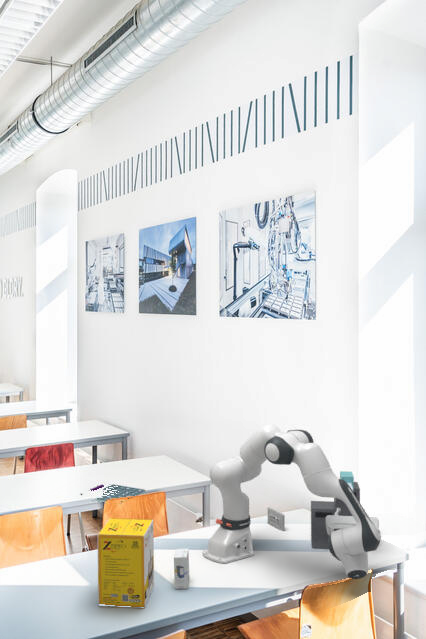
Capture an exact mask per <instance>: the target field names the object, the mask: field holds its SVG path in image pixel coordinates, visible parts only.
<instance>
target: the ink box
mask: <svg viewBox="0 0 426 639" xmlns="http://www.w3.org/2000/svg"><path fill="white" fill-rule="evenodd" d="M189 554H190V553H189V548H176V549H175V553H174V556H173V568H174V570H173V571H174V573H173V574H174V577H173V578H174V589H175V590H177V589H178V590H179V589H185V590H186V589H189V585H190V558H189V557H190V555H189Z"/></svg>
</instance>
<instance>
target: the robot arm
mask: <svg viewBox="0 0 426 639" xmlns="http://www.w3.org/2000/svg"><path fill="white" fill-rule="evenodd" d="M267 460H268V462H270V463H271V464H274V465H281V466H282V465H283V466H284V465H287V466H290V465H291V464H292V463H294V464H295V465H297V467H298V469H299V470H300V474H301V477H302V479H303V481H304V484H305V486H306V488H307V490H308V491H309V493H311V494H312V495H315V496H317V497H321V498H331V499H334V498H337V499H340V500H342V501H343V502H344V503H345V504H346V505H347V507H348V509H349V510H350V512H351V514H352V515H353V516H338V514H341V508H337V511H336V512H335V514H334V515H327V516H326V519H325V523H326V530H327V533H328V535H329V539H328V546H329V549H328V550H329V553H330V554H331V556H333V558H335V559H336V560H337V561H339V562H340V563H341V564H342V566H343V569H344V572H345V576H346V577H347V578H348V579H352V580H361V579H363V578H365V577H366V576H368V573H369V557H368V556H369V555H368V553H369V552H374V551H376V550H377V549H378V548H379V545H380V544H381V540H382V539H381V538H382V533H381V532H382V531H381V530H380V529H379V528H380V521H379V518H377V516H376V517H374V516H370V515H369V514H368V512H366V509H365V508H364V507H363V506H362V504H361V502H359V501H358V499H357V497H356V496H355V494H354V492H353V491H352V489H351V488H350V486H349V485H348V484H347V482H346V481H345V480H342V479H340V477H338V476H337V475H336V474H335V472H334V471H333V469H332V467H331V465H330V462H329V460H328V458H327V456H326V455H325V453H324V451H323V449H322V448H321V446H320V445H319V444H317V443H316V442H314V439H313V436H312V434H311V433H310V432H308V431H307V430H304V429H289V430H287V431H286V432H284V431H283V432H282V431H281V429H279V427H277V426H276V425H274V424H271V423H269V424H265V425H263V426H262V427H259V429H258V430H256V431H255V432H254V433H252V435H251V436H249V438H248V439H246V441H245V442H244V443H243V444H242V445H240V448H239V454H238V455H236V456H233V457H230V458H226V459H222V460H220V461H218V462H216V463H214V464H213V465H212V466H211V467H210V469H209V479H210V481H211V483H212V485H214V486H215V487H216V488H217V490H219V492H220V495H221V498H222V516H221V519H220V518H216V520H215V523H216V524H218V525H219V527H218V528H217V529H216V531H215V532H214V533H213V534H212V535H211V537H210V538H209V540H208V546H207V548H206V549H204V550H203V551H202V556H203V557H204V558H206V559H208V560H210V561H213V562H216V563H220V564H228V563H232V562H235V561H239V560H242V559H246V558H249V557H252V556H254V555H255V551H254V546H253V540H252V534H251V533H252V532H251V528H250V527H251V523H252V522H251V521H252V520H251V515H250V498H249V496H248V495H247V494H246V493H245V492H243V491H242V488H241V486H242V485H241V484H242V483H246V482H247V483H248V482H249V481H250V482H251V481H252V480H254V479H255V478H257V477H258V476H260V475H261V473H262V465H263V464H264V463H265V462H266V461H267Z"/></svg>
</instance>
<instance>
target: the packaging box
mask: <svg viewBox="0 0 426 639" xmlns="http://www.w3.org/2000/svg"><path fill="white" fill-rule="evenodd" d="M96 537H97V592H98V593H97V594H98V595H97V596H98V597H97V598H98V599H97V600H98V602H97V604H105V605H115V606H131V607H145V608H146V606H147V604H146V602H147V600H148V601H149V599H150V597H149V596H151V595H150V593H151V594H152V592H153V590H154V588H153V586H154V587H155V560H154V558H155V553H154V550H155V549H154V548H155V547H154V519H152V518H151V519H149V518H147V519H145V518H144V519H143V518H142V519H141V518H113V517H111V518H109V519H108V520H107V522H106V523H105V524H104V526H103V527H102V528H101V529H100V531H99V532H98V534H97V536H96ZM152 589H153V590H152ZM151 591H152V592H151ZM148 598H149V599H148ZM147 603H148V602H147ZM145 605H146V606H145Z"/></svg>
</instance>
